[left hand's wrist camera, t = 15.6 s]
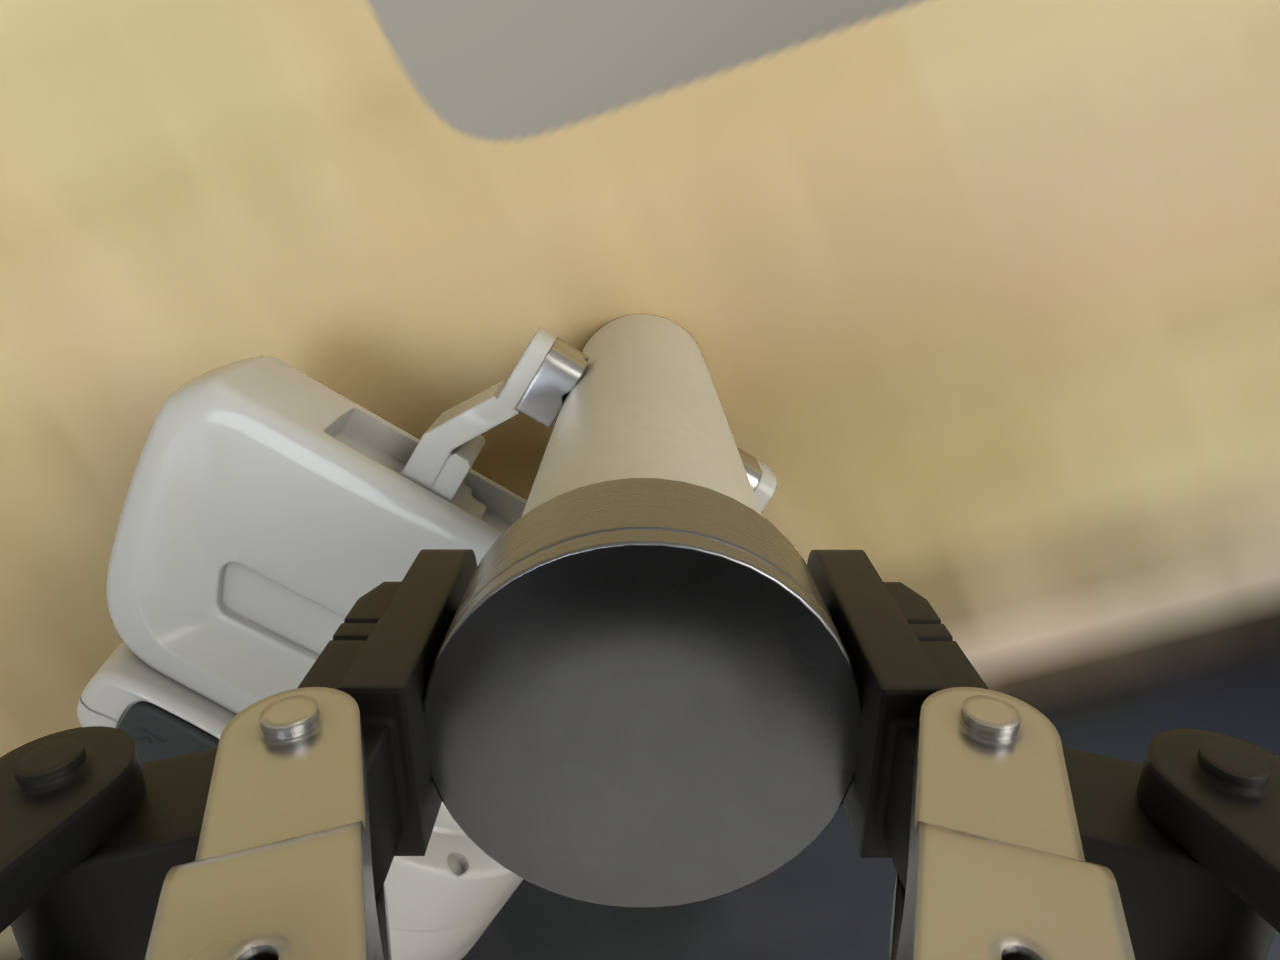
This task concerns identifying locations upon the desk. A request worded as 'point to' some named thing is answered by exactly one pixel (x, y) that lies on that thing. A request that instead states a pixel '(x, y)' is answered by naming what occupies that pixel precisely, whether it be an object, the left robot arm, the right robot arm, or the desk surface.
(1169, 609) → the desk surface
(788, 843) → the lid
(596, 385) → the beige tapered cylinder
